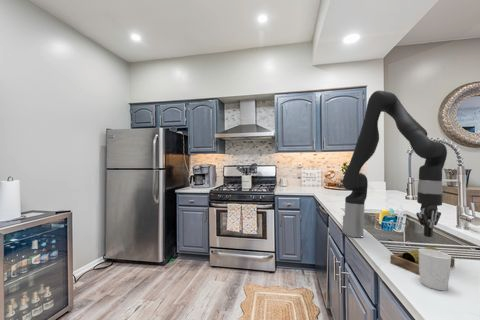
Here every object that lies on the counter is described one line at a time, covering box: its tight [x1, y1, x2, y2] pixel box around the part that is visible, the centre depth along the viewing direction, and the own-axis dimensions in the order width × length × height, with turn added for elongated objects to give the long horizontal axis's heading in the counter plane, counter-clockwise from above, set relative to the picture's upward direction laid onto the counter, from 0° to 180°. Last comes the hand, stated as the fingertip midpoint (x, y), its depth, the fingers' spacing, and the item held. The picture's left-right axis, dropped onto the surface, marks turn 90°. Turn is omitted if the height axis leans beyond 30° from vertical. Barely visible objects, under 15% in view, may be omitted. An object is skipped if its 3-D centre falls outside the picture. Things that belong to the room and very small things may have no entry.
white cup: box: [418, 248, 452, 291], centre depth 72 cm, size 8×8×10 cm
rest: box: [389, 252, 456, 276], centre depth 87 cm, size 11×21×3 cm, turn 115°
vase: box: [401, 245, 439, 264], centre depth 87 cm, size 6×6×14 cm
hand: (428, 236), depth 89 cm, fingers closed
